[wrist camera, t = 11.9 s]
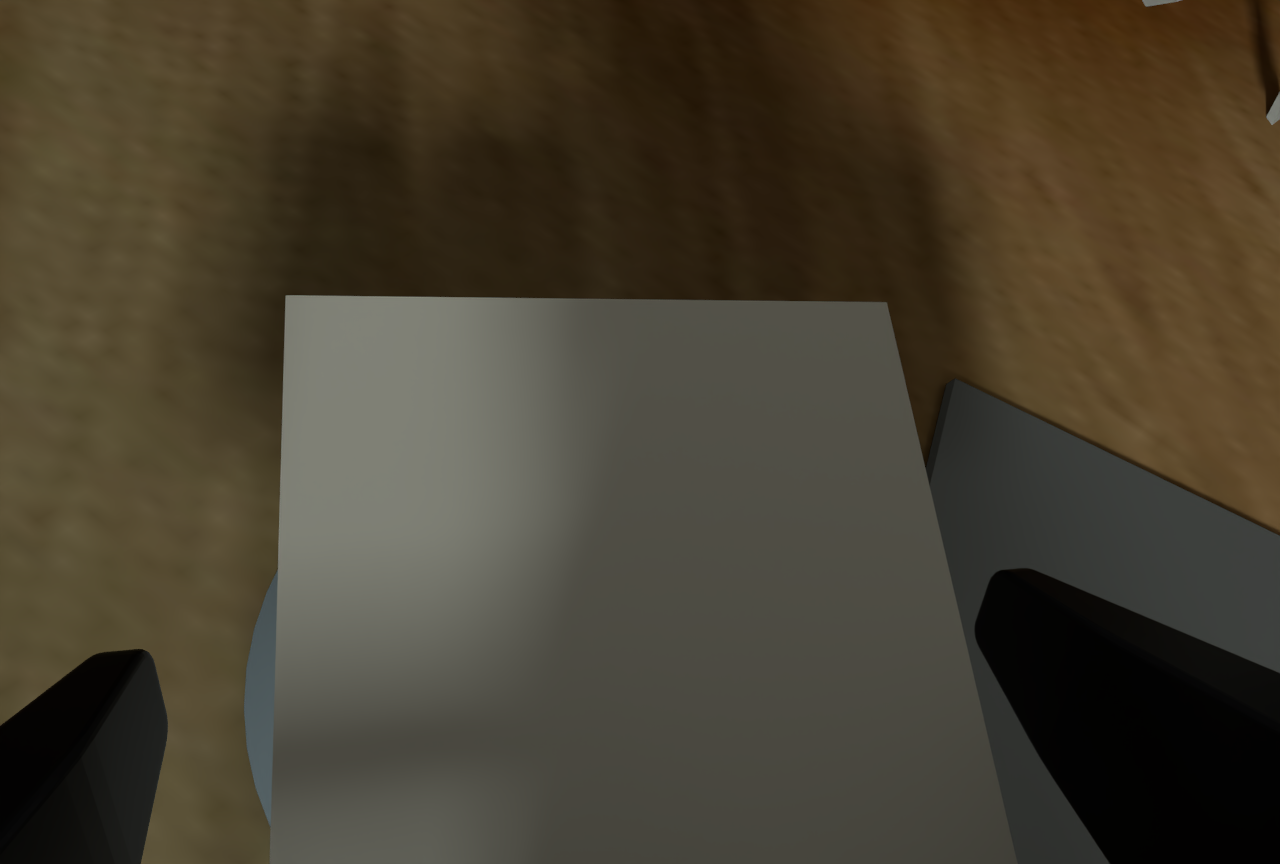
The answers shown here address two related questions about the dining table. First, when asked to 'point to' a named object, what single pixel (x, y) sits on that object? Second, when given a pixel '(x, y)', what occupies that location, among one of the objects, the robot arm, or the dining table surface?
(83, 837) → the robot arm
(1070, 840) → the mat
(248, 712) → the coaster
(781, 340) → the white tall block
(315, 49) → the dining table surface
